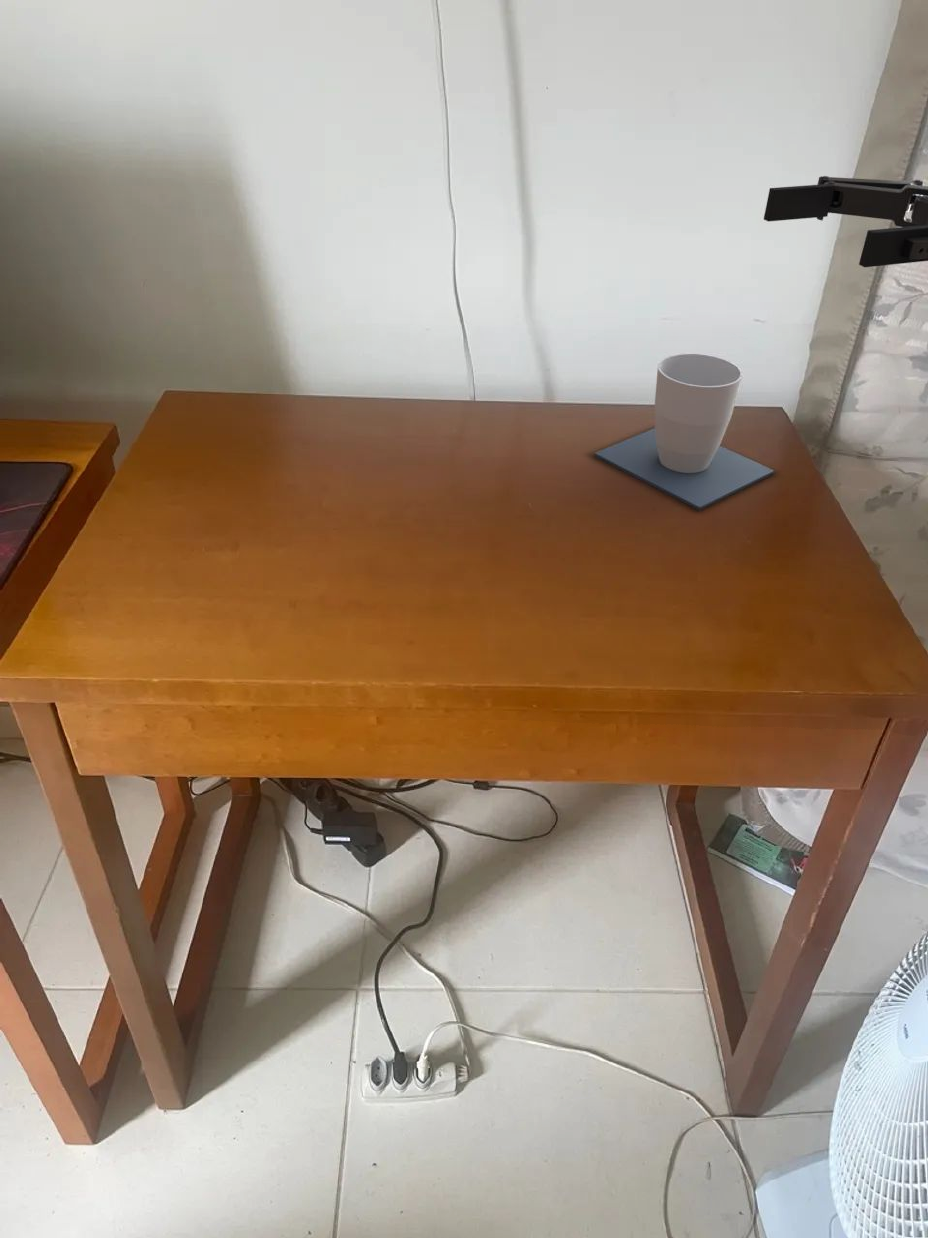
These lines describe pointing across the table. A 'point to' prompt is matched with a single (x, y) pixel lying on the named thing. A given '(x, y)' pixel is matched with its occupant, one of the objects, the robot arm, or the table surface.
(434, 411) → the table surface
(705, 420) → the cup
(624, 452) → the mat
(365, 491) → the table surface
